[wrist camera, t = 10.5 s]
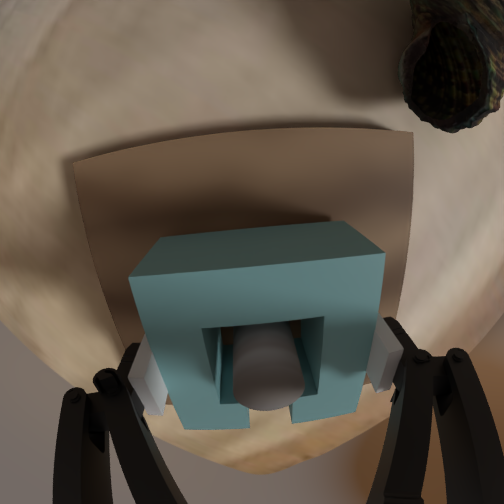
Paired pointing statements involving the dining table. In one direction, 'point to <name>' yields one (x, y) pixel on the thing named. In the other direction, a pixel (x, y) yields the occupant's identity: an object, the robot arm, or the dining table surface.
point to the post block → (247, 220)
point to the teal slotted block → (260, 313)
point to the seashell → (454, 62)
